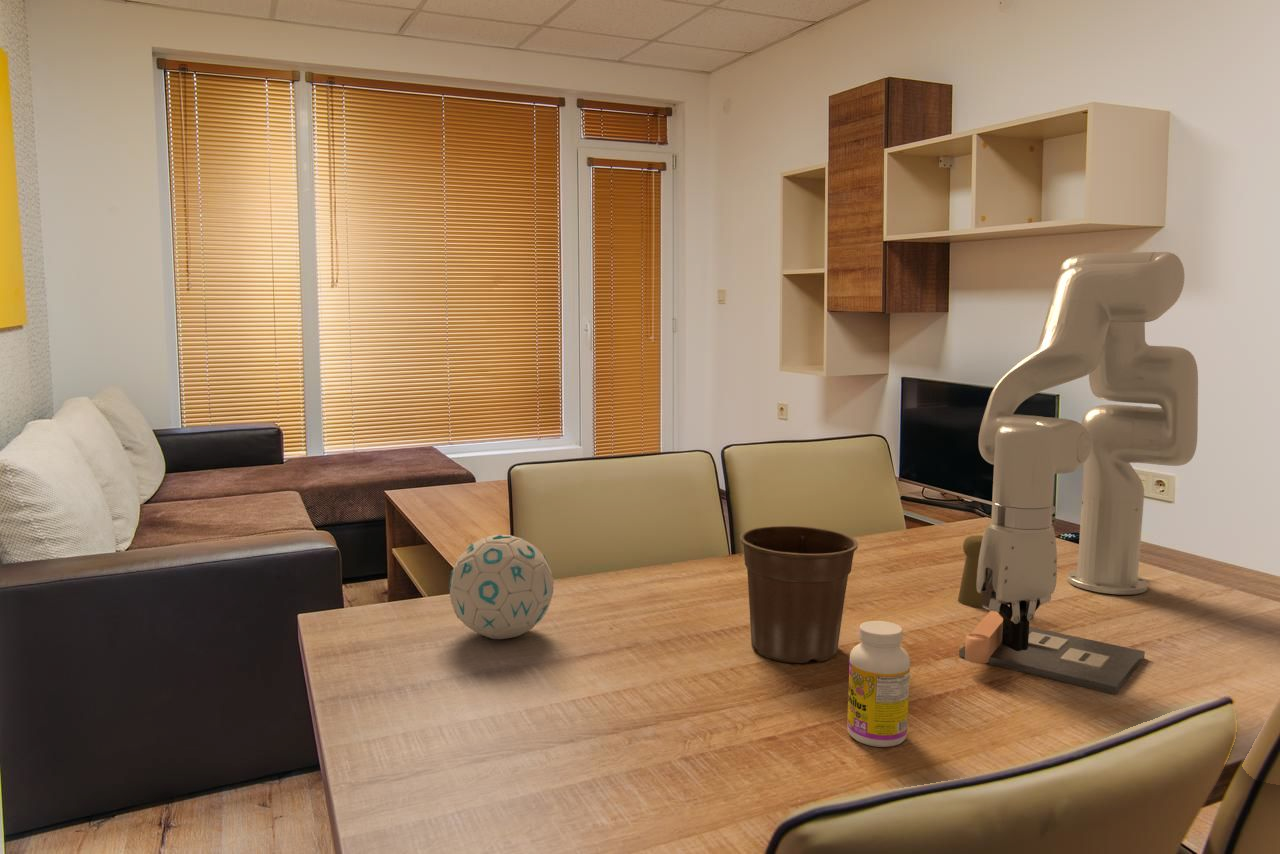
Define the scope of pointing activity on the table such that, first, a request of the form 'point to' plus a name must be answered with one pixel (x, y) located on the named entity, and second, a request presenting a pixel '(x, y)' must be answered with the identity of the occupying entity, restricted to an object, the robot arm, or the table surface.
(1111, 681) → the panel
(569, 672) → the table surface
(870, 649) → the supplement bottle
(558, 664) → the table surface
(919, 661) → the table surface
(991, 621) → the swing bar
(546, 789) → the table surface
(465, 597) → the puzzle ball
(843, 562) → the plant pot
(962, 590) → the cork
